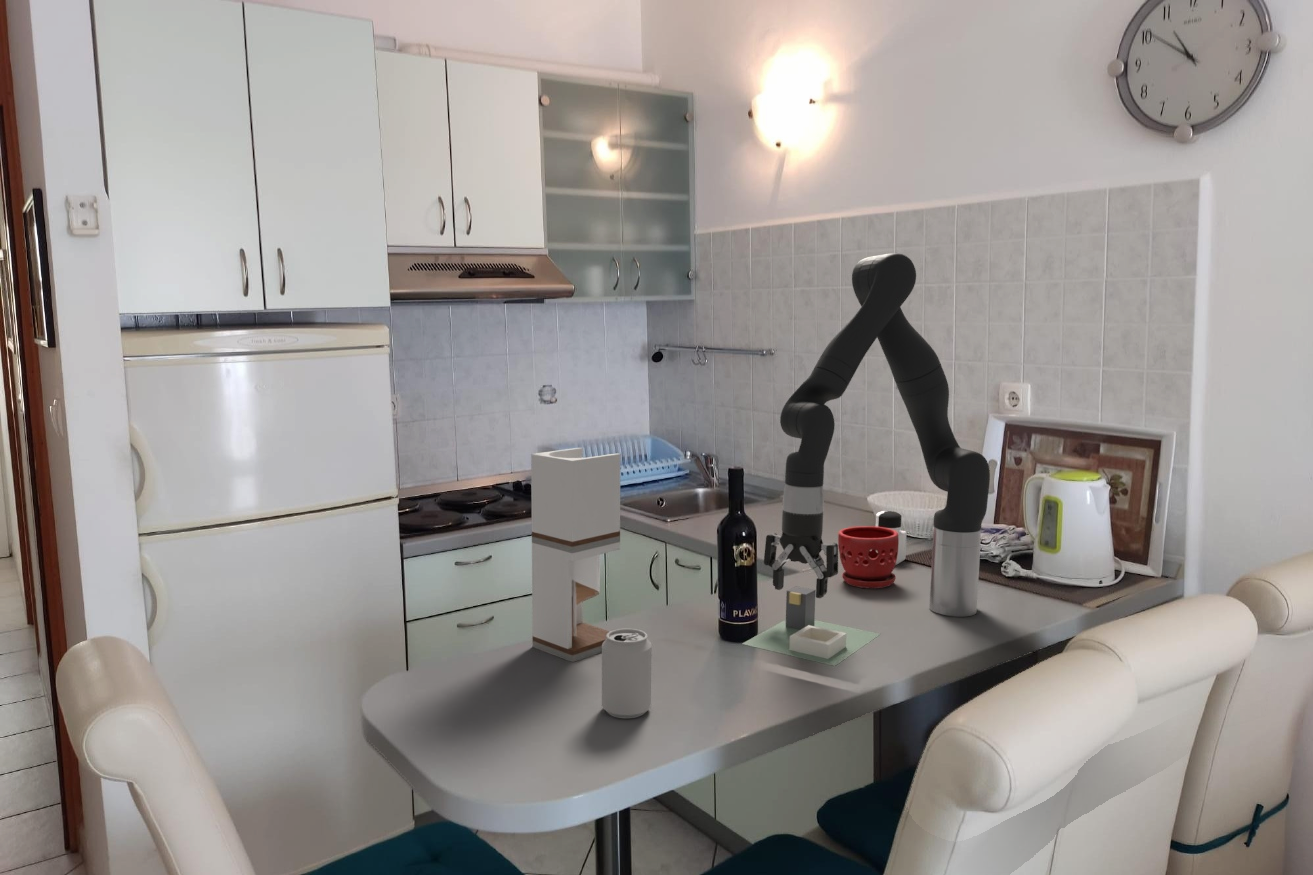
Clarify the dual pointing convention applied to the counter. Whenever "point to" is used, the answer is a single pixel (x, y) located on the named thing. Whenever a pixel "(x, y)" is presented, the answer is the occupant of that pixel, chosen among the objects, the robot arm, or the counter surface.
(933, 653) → the counter surface
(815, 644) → the board
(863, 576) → the plant pot
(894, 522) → the medicine bottle
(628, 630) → the can
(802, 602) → the plug
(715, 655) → the counter surface
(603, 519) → the white tall box
